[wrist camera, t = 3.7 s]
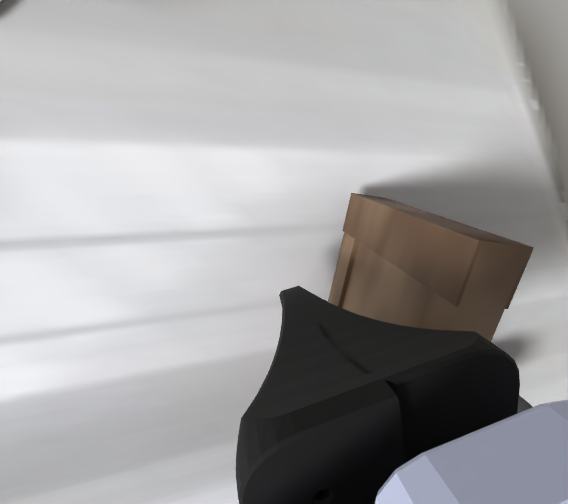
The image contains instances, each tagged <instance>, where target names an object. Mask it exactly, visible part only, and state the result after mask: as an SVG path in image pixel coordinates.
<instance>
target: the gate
mask: <svg viewBox="0 0 568 504" xmlns="http://www.w3.org/2000/svg"><path fill="white" fill-rule="evenodd" d="M343 231H344V236H343V241H342V245H341V249H340V253H339V257H338V262H337V266H336V270H335V274H334V279H333V283H332V287H331V291H330V296H329V300H328V302H329V303H331V304H334V305H336V306H338V307H340V308H343V309H345V310H348V311H350V312H353V313H356V314H358V315H362V316H365V317H368V318H371V319H375V320H379V321H383V322H387V323H392V324H397V325H402V326H409V327H415V328H424V329H433V330H452V331H475V332H477V333H478V334H480V335H481V336H483V337H484V338H486V339H487V340H488V341H490V342H491V340H492V338H493V335H494V333H495V331H496V328H497V326H498V323H499V321H500V319H501V316H502V314H503V312H504V309H508V307H509V305H510V302H511V300H512V298H513V295H514V293H515V291H516V288H517V286H518V284H519V281H520V279H521V277H522V274H523V272H524V269H525V267H526V265H527V262H528V260H529V258H530V255H531V253H532V251H533V247H530V246H527V245H524V244H521V243H518V242H515V241H512V240H509V239H506V238H503V237H500V236H497V235H494V234H491V233H488V232H485V231H482V230H479V229H476V228H473V227H470V226H467V225H464V224H461V223H458V222H455V221H452V220H449V219H446V218H443V217H440V216H437V215H434V214H431V213H428V212H425V211H422V210H419V209H416V208H413V207H410V206H407V205H404V204H401V203H398V202H395V201H392V200H389V199H386V198H381V197H374V196H368V195H362V194H355V193H351V197H350V201H349V206H348V210H347V214H346V218H345V223H344V227H343Z"/></svg>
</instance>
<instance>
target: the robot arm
mask: <svg viewBox="0 0 568 504" xmlns="http://www.w3.org/2000/svg"><path fill="white" fill-rule="evenodd" d="M279 296H280V300H281V304H282V309H283V310H282V325H281V332H280V338H279V342H278V346H277V350H276V353H275V356H274V359H273V362H272V365H271V367H270V370H269V372H268V374H267V376H266V378H265V380H264V382H263V384H262V386H261V388H260V390H259V392H258V394H257V395H256V397H255V399H254V400H253V402H252V403H251V405H250V406H249V408H248V409H247V411H246V412H245V414H244V415H243V416H242V418H241V423H240V429H239V435H238V444H237V454H236V480H237V490H238V499H239V504H568V400H562V401H556V402H551V403H545V404H540V405H537V406H535V407H533V408H530V409H528V410H525V411H523V412H520V413H518V414H517V411H518V399H519V387H520V380H519V369H518V367H517V365H516V363H515V360H513V359H512V358H511V357H510V356H509V355H508V354H507V353H505V352H504V351H503V350H501V349H500V348H498V347H497V346H496V345H494V344H493V343H491V342H490V341H488V340H487V339H486V338H484V337H483V336H481V335H480V334H478V333H477V332H475V331H452V330H433V329H424V328H415V327H409V326H402V325H397V324H392V323H387V322H383V321H379V320H375V319H371V318H368V317H365V316H362V315H358V314H356V313H353V312H350V311H348V310H345V309H343V308H340V307H338V306H336V305H334V304H331V303H329V302H327V301H325V300H323V299H321V298H319V297H318V296H316V295H314V294H312V293H310V292H309V291H307V290H305V289H303V288H302V287H300V286H296V287H293V288H290V289H287V290H284V291H281V293H280V294H279Z"/></svg>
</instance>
